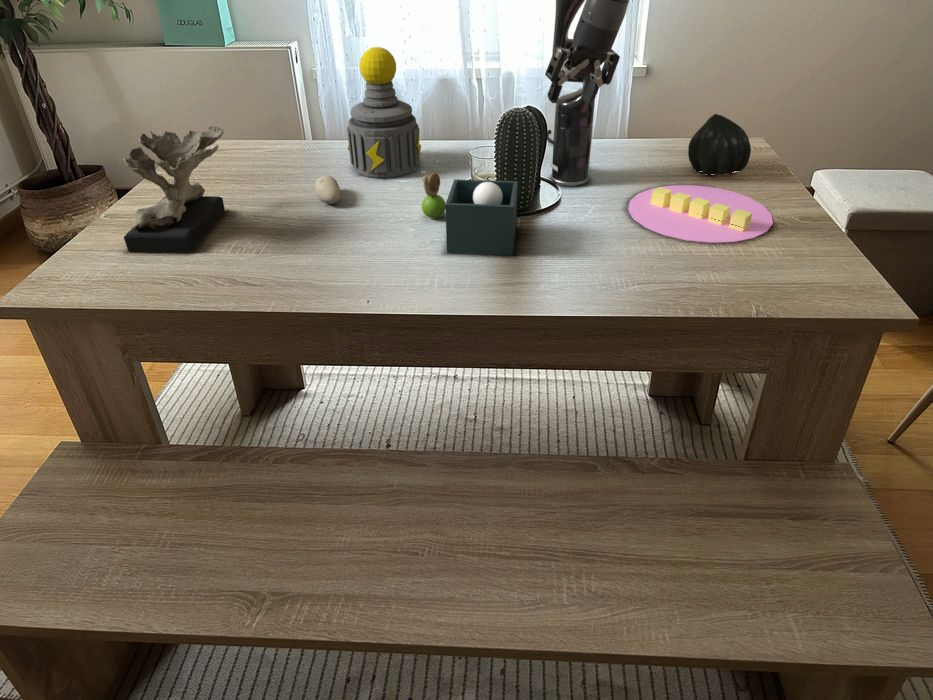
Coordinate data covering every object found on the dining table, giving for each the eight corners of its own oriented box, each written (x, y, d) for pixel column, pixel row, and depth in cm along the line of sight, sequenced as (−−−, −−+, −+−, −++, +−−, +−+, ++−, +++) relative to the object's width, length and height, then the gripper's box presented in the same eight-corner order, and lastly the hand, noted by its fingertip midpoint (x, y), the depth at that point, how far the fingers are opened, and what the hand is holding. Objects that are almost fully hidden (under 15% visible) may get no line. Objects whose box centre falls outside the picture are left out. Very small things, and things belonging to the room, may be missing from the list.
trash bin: (455, 225, 157) (454, 179, 150) (516, 227, 155) (517, 181, 149) (446, 253, 146) (445, 204, 139) (512, 256, 144) (513, 206, 138)
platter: (732, 257, 142) (736, 242, 140) (600, 214, 160) (602, 200, 158) (796, 209, 161) (800, 195, 159) (671, 175, 179) (673, 163, 177)
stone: (321, 200, 162) (303, 171, 169) (330, 219, 168) (312, 189, 174) (343, 189, 163) (324, 160, 169) (352, 207, 168) (333, 178, 175)
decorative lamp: (361, 153, 196) (349, 38, 179) (427, 156, 194) (421, 39, 177) (342, 178, 181) (327, 55, 164) (413, 181, 179) (406, 56, 162)
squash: (760, 164, 170) (755, 106, 172) (697, 167, 170) (693, 109, 172) (740, 185, 184) (735, 130, 186) (682, 188, 185) (678, 133, 186)
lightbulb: (478, 236, 146) (483, 183, 142) (464, 231, 151) (468, 179, 148) (504, 237, 149) (510, 184, 145) (489, 231, 154) (494, 180, 151)
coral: (175, 204, 168) (151, 114, 156) (257, 206, 167) (240, 115, 154) (124, 251, 148) (92, 152, 136) (217, 255, 146) (193, 154, 134)
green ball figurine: (415, 221, 159) (412, 170, 152) (429, 210, 163) (427, 160, 157) (436, 225, 157) (434, 174, 150) (450, 215, 161) (448, 164, 154)
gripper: (620, 13, 133) (588, 93, 144) (559, 6, 126) (530, 91, 137) (642, 31, 128) (607, 112, 140) (580, 25, 122) (548, 111, 133)
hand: (569, 101), depth 138 cm, fingers open, 8 cm apart
